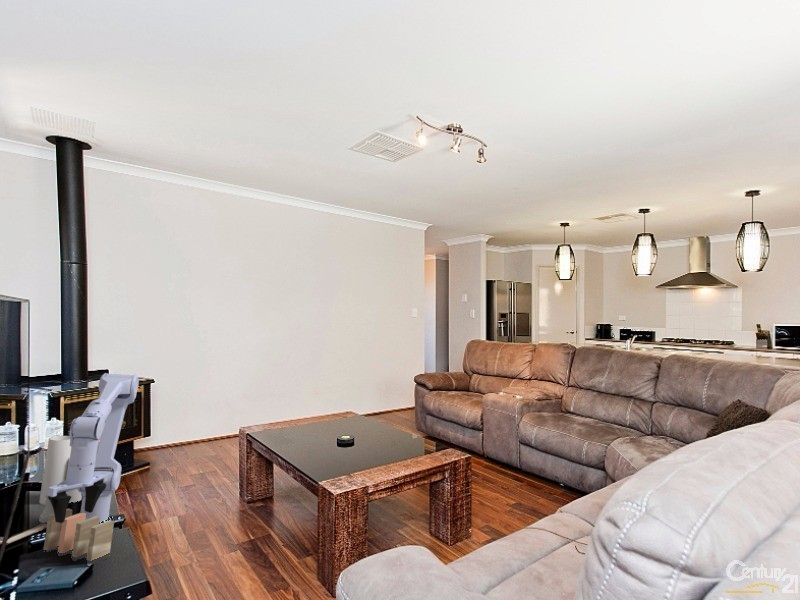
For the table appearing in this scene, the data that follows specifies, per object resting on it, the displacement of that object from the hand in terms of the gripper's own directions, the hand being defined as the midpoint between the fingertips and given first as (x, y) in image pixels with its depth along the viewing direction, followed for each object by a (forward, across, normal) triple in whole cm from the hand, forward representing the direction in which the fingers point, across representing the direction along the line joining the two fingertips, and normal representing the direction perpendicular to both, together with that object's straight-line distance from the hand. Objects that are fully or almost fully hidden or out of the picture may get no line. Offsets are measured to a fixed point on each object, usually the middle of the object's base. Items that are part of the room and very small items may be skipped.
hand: (74, 516), depth 117 cm
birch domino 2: (+9, 0, -5) cm, 10 cm away
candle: (+9, +22, +35) cm, 42 cm away
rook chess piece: (+9, +10, +23) cm, 26 cm away
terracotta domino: (+9, 0, 0) cm, 9 cm away
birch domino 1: (+9, 0, +5) cm, 10 cm away
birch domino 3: (+9, 0, -10) cm, 13 cm away
